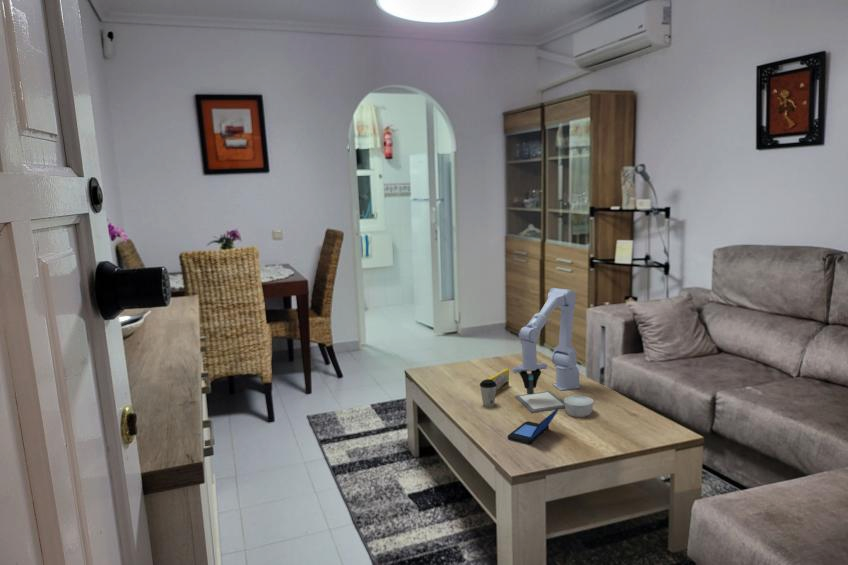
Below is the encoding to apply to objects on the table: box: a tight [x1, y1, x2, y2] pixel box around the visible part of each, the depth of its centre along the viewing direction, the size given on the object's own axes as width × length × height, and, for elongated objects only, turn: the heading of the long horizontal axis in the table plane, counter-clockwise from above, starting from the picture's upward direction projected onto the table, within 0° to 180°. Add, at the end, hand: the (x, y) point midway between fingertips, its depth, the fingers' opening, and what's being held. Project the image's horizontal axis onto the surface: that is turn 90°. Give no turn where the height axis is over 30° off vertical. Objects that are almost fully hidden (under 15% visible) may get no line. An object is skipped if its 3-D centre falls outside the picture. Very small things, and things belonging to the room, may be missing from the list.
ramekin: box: [563, 394, 594, 418], centre depth 224 cm, size 11×11×5 cm
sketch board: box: [514, 390, 565, 414], centre depth 237 cm, size 16×18×1 cm
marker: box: [526, 372, 535, 394], centre depth 237 cm, size 3×3×8 cm
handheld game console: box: [507, 409, 559, 446], centre depth 206 cm, size 16×13×9 cm
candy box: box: [487, 368, 510, 395], centre depth 251 cm, size 16×2×8 cm, turn 143°
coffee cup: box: [479, 378, 496, 408], centre depth 236 cm, size 7×7×10 cm
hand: (530, 387), depth 237 cm, fingers closed on marker, 3 cm apart
